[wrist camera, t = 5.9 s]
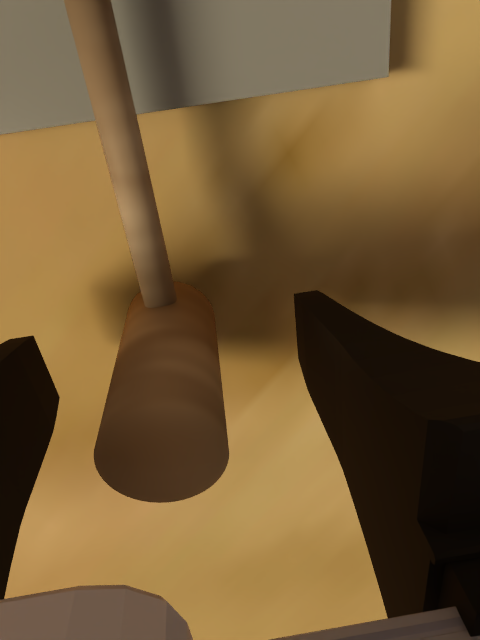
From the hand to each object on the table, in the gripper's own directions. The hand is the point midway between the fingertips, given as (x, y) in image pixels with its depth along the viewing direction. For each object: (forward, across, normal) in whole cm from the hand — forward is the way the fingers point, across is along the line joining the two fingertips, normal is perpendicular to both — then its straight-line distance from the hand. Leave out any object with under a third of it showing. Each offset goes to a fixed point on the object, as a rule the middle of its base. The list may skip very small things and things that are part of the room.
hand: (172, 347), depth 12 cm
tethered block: (+1, 0, -6) cm, 6 cm away
